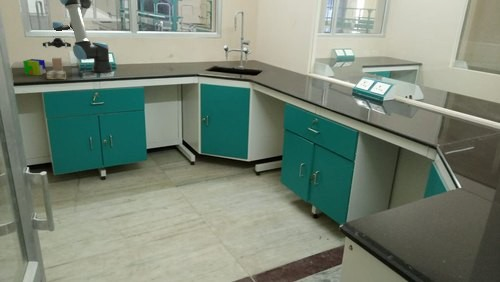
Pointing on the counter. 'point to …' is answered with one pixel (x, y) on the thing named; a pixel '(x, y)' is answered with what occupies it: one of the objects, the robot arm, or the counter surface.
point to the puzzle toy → (34, 67)
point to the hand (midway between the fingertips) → (56, 46)
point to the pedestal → (56, 75)
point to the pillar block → (57, 64)
